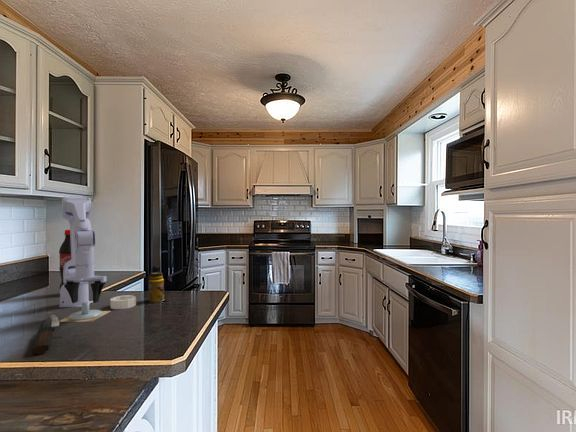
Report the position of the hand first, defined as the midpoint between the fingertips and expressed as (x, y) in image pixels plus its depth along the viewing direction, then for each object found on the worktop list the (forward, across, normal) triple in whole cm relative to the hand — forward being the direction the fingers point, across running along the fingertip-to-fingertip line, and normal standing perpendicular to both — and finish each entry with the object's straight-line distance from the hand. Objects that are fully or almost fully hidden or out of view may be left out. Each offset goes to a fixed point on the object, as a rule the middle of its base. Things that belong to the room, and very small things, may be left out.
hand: (85, 302), depth 119 cm
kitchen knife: (+5, -1, -16) cm, 17 cm away
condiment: (+6, +16, +21) cm, 27 cm away
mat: (+5, 0, 0) cm, 5 cm away
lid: (+5, 0, 0) cm, 5 cm away
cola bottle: (+5, -29, +35) cm, 46 cm away
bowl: (+5, +7, +13) cm, 16 cm away
